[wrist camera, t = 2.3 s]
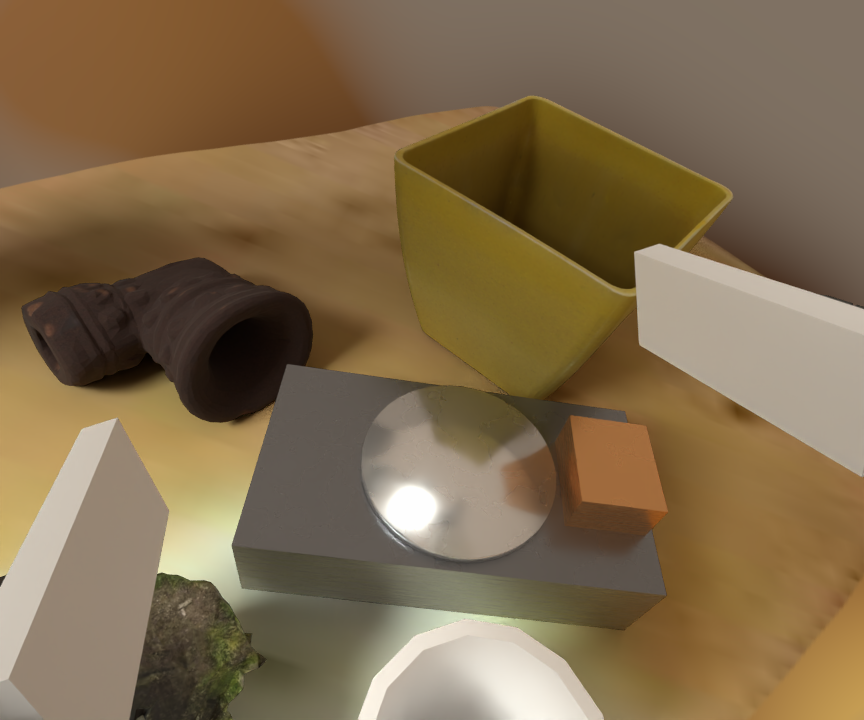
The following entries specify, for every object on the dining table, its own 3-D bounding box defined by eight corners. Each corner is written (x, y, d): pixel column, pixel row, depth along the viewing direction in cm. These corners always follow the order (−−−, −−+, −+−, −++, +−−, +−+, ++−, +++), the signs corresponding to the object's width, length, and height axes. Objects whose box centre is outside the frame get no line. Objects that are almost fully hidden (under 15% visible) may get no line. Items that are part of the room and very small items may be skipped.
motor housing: (241, 588, 34) (225, 519, 28) (289, 416, 43) (285, 333, 37) (623, 630, 36) (692, 574, 30) (594, 457, 45) (642, 384, 39)
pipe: (-6, 268, 39) (99, 366, 31) (195, 209, 48) (311, 273, 41) (45, 378, 45) (143, 482, 37) (215, 306, 54) (319, 378, 47)
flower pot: (645, 342, 55) (739, 189, 43) (544, 459, 44) (633, 298, 32) (490, 247, 62) (534, 92, 50) (368, 328, 51) (386, 153, 39)
